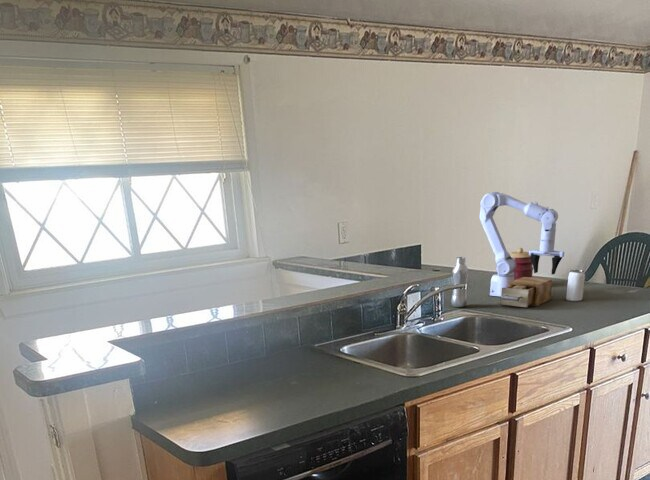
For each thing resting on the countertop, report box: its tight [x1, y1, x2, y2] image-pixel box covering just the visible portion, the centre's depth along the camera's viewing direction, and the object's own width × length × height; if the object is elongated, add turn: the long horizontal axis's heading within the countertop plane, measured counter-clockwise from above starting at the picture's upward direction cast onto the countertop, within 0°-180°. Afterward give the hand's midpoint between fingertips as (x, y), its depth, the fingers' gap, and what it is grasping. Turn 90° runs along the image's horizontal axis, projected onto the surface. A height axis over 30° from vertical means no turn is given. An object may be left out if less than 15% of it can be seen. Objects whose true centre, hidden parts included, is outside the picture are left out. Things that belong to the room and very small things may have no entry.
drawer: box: [500, 285, 536, 308], centre depth 267 cm, size 18×11×7 cm, turn 140°
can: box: [565, 269, 586, 302], centre depth 272 cm, size 6×6×12 cm
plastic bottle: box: [450, 256, 469, 308], centre depth 267 cm, size 6×7×20 cm
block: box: [513, 285, 526, 289], centre depth 267 cm, size 4×4×6 cm
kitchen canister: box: [509, 247, 534, 280], centre depth 303 cm, size 13×13×18 cm
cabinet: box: [509, 276, 553, 307], centre depth 274 cm, size 15×13×9 cm
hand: (544, 273), depth 277 cm, fingers open, 7 cm apart
